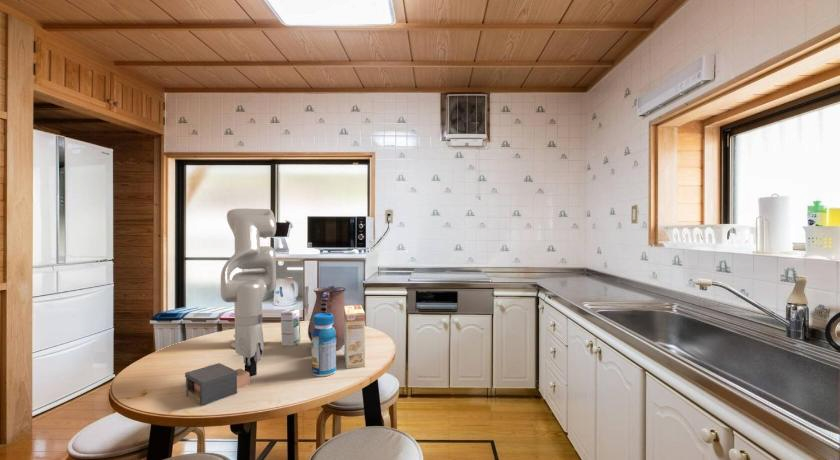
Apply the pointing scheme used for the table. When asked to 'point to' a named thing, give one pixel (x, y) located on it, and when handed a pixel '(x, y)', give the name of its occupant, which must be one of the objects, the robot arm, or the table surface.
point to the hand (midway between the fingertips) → (250, 375)
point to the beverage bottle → (323, 345)
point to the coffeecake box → (354, 336)
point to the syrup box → (290, 327)
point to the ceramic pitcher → (330, 310)
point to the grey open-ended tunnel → (211, 383)
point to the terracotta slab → (242, 380)
